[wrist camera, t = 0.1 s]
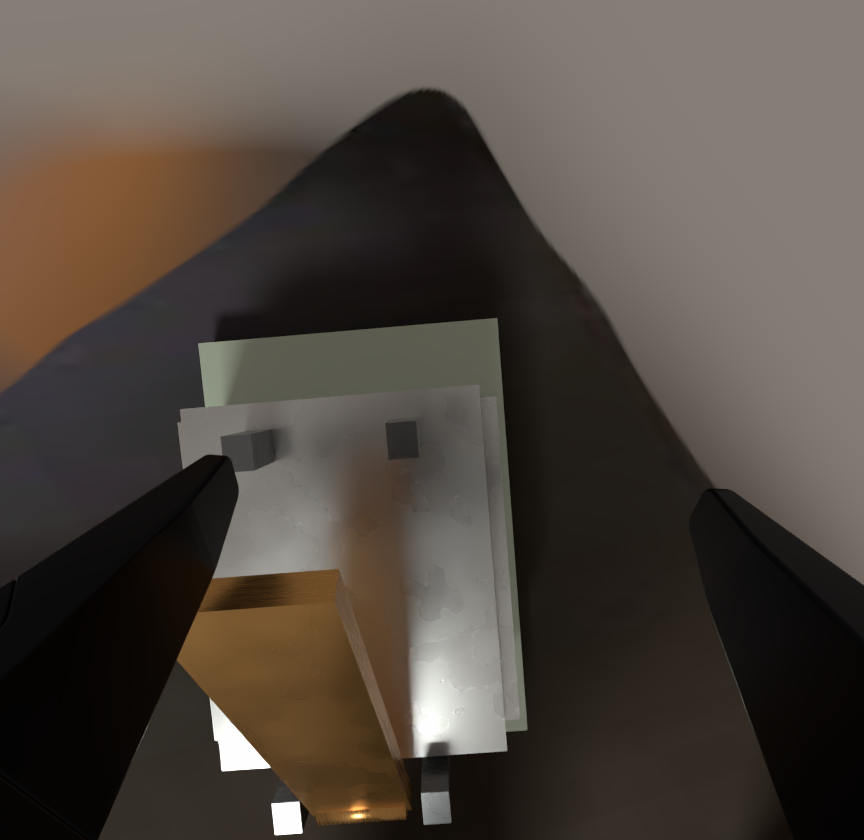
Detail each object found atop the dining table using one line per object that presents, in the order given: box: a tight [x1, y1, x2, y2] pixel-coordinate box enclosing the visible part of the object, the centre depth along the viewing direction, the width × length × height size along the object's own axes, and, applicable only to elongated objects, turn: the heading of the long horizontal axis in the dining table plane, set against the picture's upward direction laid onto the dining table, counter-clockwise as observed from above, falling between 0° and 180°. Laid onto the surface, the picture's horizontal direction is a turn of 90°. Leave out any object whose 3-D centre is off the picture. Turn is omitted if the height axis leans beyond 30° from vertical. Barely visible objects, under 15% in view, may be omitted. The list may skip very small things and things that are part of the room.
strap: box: [177, 569, 412, 826], centre depth 14 cm, size 15×4×1 cm
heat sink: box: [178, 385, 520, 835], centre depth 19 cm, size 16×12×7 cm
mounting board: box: [198, 318, 527, 732], centre depth 24 cm, size 20×14×2 cm
